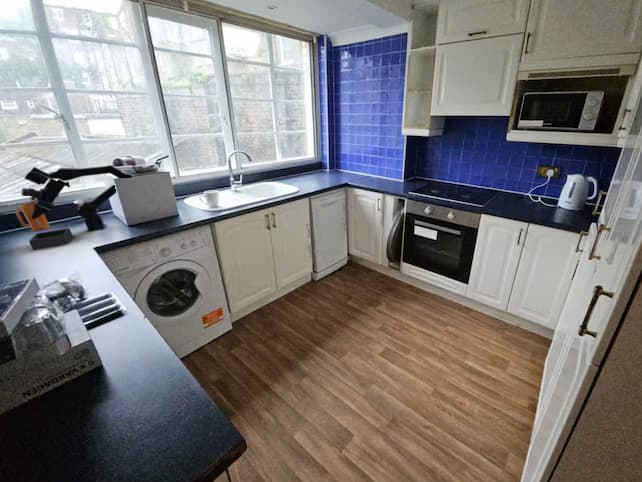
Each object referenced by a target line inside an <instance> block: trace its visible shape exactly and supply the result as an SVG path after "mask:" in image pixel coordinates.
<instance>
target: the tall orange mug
mask: <svg viewBox="0 0 642 482" xmlns="http://www.w3.org/2000/svg"><path fill="white" fill-rule="evenodd" d="M34 204H35V202H33V203H31V202H27V203H23V204H20V205H19V208H20V209H16V210H14V214H15V215H16V217H17V218H18V221H19V223H20V224H21V226H22V227H28V226H30V227H29V228H31V230H32V232H36V233H37V232H44V231H47V230H49V229H51V225H50V223H49V222H48V219H47V217H46V215H45V214H43V215H41V216H39V217H37V218H35V219H32V218H31V217H32V215H33V213H34V210H35V208H36V207H35V205H34ZM20 213H23V215H24V217H25V219H26V221H27V223H25V222H24V219H23V218H22V216H21V214H20Z"/></svg>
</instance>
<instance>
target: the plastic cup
mask: <svg viewBox="0 0 642 482" xmlns="http://www.w3.org/2000/svg"><path fill="white" fill-rule="evenodd" d="M94 198H95V197H85V198H79V199H75V200H73V204H74V205H75V206H76V207H77V208H78V207H79V204H82V203H83V202H84V201H85V200H87V201H88V202H89V201H91V200H93V199H94ZM98 209H99V207H98V208H97V209H96V211H98V212H99V210H98Z"/></svg>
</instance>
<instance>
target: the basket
mask: <svg viewBox="0 0 642 482" xmlns="http://www.w3.org/2000/svg"><path fill="white" fill-rule="evenodd" d="M73 237H74V235H73V233H72V230H71V229H70V228H69V227H68V228H62V229H61V228H60V229H56V230H50V231H49V230H48V231H42V232H36V233H35V234H34V235H33V236H32V237H31V238H30V239H29V240H28V244H29V245H30V246H31V249H32V250H33V251H35V250H41V249H46V248H51V247H58V246H62V245H68V244H69V243H70V242H71V240H72V239H73Z"/></svg>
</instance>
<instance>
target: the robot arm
mask: <svg viewBox="0 0 642 482" xmlns="http://www.w3.org/2000/svg"><path fill="white" fill-rule="evenodd" d="M121 171H122V170H121V169H119V168H117V167H115V166H114V165H113V164H107V165H101V166H91V167H83V168H81V167H79V168H78V167H77V168H75V167H60V168H58V169H57V170H56V171H50V172H49V173H48V172H46V171H44V170H42V169H40V168H38V167H37V166H33V168H32V169H30V171H29V172H28V173H27V174H26V175H25V176H24V177H23V178H24V179H25V180H27V181H29V182H32V183H34V184H36V185H39V186H40V185H44V187H42V188H40V189H39V190H38V189H35V188H31V187H30V188H25V187H22V188H21V193H20V195H21V196H22V197H30V198H29V199H30V203H33V202H35V204H34V205H35V207H36V208H35V210H34V213H33V215H32V217H31V218H32V219H35V218H37V217H39V216H41V215H43V214H44V215H45V214H47V213H48V212H51V211H54V210H55V208H56V205H55V204H54V203H55V202H54V201H55V200H56V199H57V198H59V196H60V195H59V194H60V193H61V192H62V190H63V189H64V188H65V187H67V188H71V185H70V182H69V181H71V180H75V179H78V178H82V177H88V176H97V175H105V174H106V175H107V174H111V175H113V176H115V177H116V178H117V179H119V178H131V177H132V175H133V174H132V173H130V172H125V173H122V172H121ZM129 173H130V174H129ZM131 174H132V175H131ZM48 180H49V181H48ZM47 181H48V182H47ZM46 182H47V183H46ZM45 184H46V185H45ZM115 194H117V193H116V189H115V185H113V184H112V185H110V186H109V187H108V188H106V189H105V190H104V191H102V192H101V193H99V194H98V195H97V196H96V197H93V198H94V199H93V200H91V201H89V202H88V201H87V200H85V201H84V202H83V203H82V204H79V207H77V215H78V216H79V217H80V218H84V221H85V222H84V223H85V226H86V228H87V230H88V232H93V231H97V230H104V229H105V228H106V224H105V223H104V220H103V218H102V215H100V213H99V210H98V211H96V209H97V208H98V209H99V207H100V206H101V205H102V204H104V203H105V202H106V201H108V200H109V199H110V198H111V197H113V196H115Z"/></svg>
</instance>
